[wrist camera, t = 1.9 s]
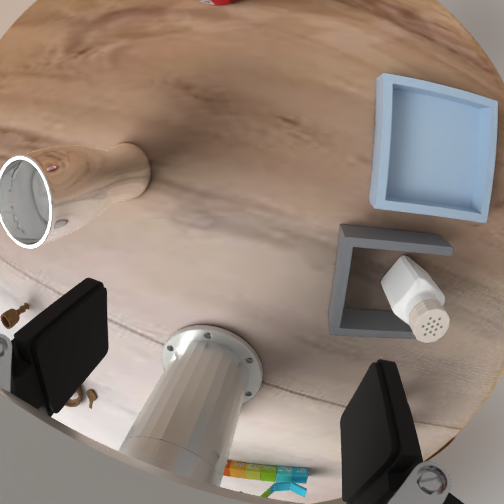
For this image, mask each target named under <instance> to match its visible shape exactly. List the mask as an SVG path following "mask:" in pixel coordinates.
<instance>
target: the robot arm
mask: <svg viewBox="0 0 504 504" xmlns="http://www.w3.org/2000/svg"><path fill="white" fill-rule="evenodd" d="M107 351H108V324H107V290H106V288H104V285H103V283H102V282H100V281H97V280H94V279H91V278H86V279H85V280H83V281H82V282H80V283H79V284H78V285H76V286H75V287H74V288H72V289H71V290H70V291H68V292H67V293H66V294H64V295H63V296H62V297H61V298H59V299H58V300H57V301H55V302H54V303H53V304H51V305H50V306H49V307H48V308H46V309H45V310H44V311H42V312H41V313H40V314H39V315H37V316H36V317H35V318H34V319H32V320H31V321H30V322H29V323H27V324H26V325H25V326H24V327H22V328H21V329H20V330H19V331H17V332H16V333H15V334H14V339H13V340H12V341H10V339H9V338H8V337H7V336H5V335H3V334H0V504H303V503H295V502H289V501H282V500H276V499H271V498H266V497H260V496H255V495H251V494H246V493H242V492H237V491H233V490H229V489H225V488H221V487H220V484H221V480H222V477H223V473H224V470H225V466H226V463H227V459H228V455H229V452H230V448H231V445H232V441H233V437H234V434H235V430H236V426H237V423H238V419H239V415H240V411H241V408H242V404H243V403H245V402H247V401H248V400H250V399H251V398H253V397H254V396H255V394H256V393H257V392H258V390H259V388H260V386H261V382H262V378H263V369H262V363H261V361H260V359H259V357H258V355H257V354H256V352H255V351H254V349H253V348H252V347H251V346H250V345H249V344H248V343H247V342H246V341H245V340H243V339H242V338H240V337H239V336H238V335H236V334H234V333H232V332H230V331H228V330H225V329H222V328H219V327H215V326H209V325H194V326H187V327H185V328H182V329H180V330H178V331H176V332H175V333H173V334H172V335H171V337H170V338H169V339H168V340H167V342H166V343H165V345H164V347H163V350H162V355H161V361H162V367H163V369H164V372H163V374H162V376H161V377H160V379H159V381H158V383H157V384H156V386H155V388H154V389H153V391H152V393H151V395H150V396H149V398H148V400H147V401H146V403H145V405H144V407H143V408H142V410H141V412H140V413H139V415H138V417H137V419H136V420H135V422H134V424H133V426H132V427H131V429H130V431H129V433H128V434H127V436H126V438H125V439H124V441H123V443H122V445H121V447H120V448H119V450H118V451H116V450H114V449H111V448H109V447H107V446H105V445H103V444H101V443H99V442H97V441H94V440H92V439H90V438H88V437H86V436H84V435H82V434H81V433H79V432H77V431H75V430H73V429H71V428H69V427H67V426H66V425H64V424H62V423H60V422H58V421H57V420H55V419H53V418H51V416H52V415H53V413H58V412H59V411H60V410H61V409H62V408H63V406H64V405H65V404H66V403H67V402H68V400H69V399H70V398H71V397H72V395H73V394H74V393H75V392H76V390H77V389H78V388H79V387H80V386H81V384H82V383H83V382H84V381H85V379H86V378H87V377H88V376H89V375H90V373H91V372H92V371H93V370H94V369H95V367H96V366H97V365H98V364H99V363H100V361H101V360H102V359H103V358H104V357H105V355H106V354H107ZM340 428H341V454H342V499H343V501H345V502H347V504H464V503H462V502H461V501H460V500H458V499H457V498H456V497H455V496H453V495H452V494H451V493H449V491H450V488H451V478H450V475H449V474H448V472H447V471H446V469H445V468H443V467H442V466H441V465H439V464H437V463H435V462H430V461H428V462H423V459H422V454H421V450H420V446H419V442H418V438H417V433H416V430H415V426H414V422H413V418H412V414H411V411H410V407H409V405H408V403H407V399H406V396H405V392H404V389H403V385H402V382H401V379H400V375H399V372H398V369H397V365H396V363H395V362H392V361H386V360H381V359H380V360H378V361H377V362H376V363H374V362H373V363H372V364H371V365H370V367H369V369H368V371H367V373H366V374H365V376H364V378H363V380H362V382H361V383H360V385H359V387H358V389H357V390H356V392H355V394H354V396H353V397H352V399H351V401H350V402H349V404H348V406H347V407H346V409H345V411H344V412H343V414H342V417H341V421H340Z"/></svg>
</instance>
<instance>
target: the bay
mask: <svg viewBox="0 0 504 504" xmlns="http://www.w3.org/2000/svg"><path fill="white" fill-rule="evenodd" d="M353 247H360V248H372V249H383V250H394V251H404V252H415V253H426V254H436V255H446V256H452V253H453V249H454V247H453V246H451V245H450V244H449V243H448V242H447V241H446V240H444V239H443V238H442V237H441V236H440V235H438V234H431V233H422V232H413V231H404V230H395V229H385V228H375V227H365V226H354V225H343V224H340V229H339V238H338V246H337V255H336V262H335V270H334V277H333V284H332V291H331V298H330V304H329V311H328V318H329V330H330V335H342V336H359V337H379V338H408V339H417V338H416V337H415V335H414V334H413V332H412V329H411V327H410V325H408V324H407V323H406V322H404V321H403V320H402V319H400V318H399V317H398V316H397V315H395V314H394V312H393V311H386V310H369V309H354V308H343V307H344V301H345V295H346V289H347V283H348V277H349V271H350V264H351V257H352V250H353Z"/></svg>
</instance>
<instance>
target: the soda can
mask: <svg viewBox="0 0 504 504" xmlns="http://www.w3.org/2000/svg"><path fill="white" fill-rule="evenodd" d="M199 1H201V2H203V3H206V4H209V5H227V4H231V3H234V2H237V1H239V0H199Z"/></svg>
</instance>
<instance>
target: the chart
mask: <svg viewBox="0 0 504 504" xmlns="http://www.w3.org/2000/svg"><path fill="white" fill-rule="evenodd" d="M223 475H224V476H231V477H237V478H245V479H253V480H260V479H261V480H262V481H273V482H278V483H274V484H273V485H272V486H271V487H270V488H271V490H270V488H269V489H268V490H267V491H266V492H264V493H263V494H262V495H261V496H260V497H266V498H267V497H268V496H269V495H271V494H272V493H273V492H274V491H285V490H291V491H293V492H295V493H297V494H299V495H301V496H303V497H305V494H306V491H307V489H306V488H304V487H302V486H300V485H297V484H295V483H303V484H306V482H307V478H308V468H298V467H282V466H278V467H277V466H270V465H260V464H251V463H247V464H246V463H243V462H235V461H228V460H227V463H226V466H225V470H224V473H223ZM290 486H291V488H290ZM274 487H275V490H274ZM242 493H243V492H242Z"/></svg>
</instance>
